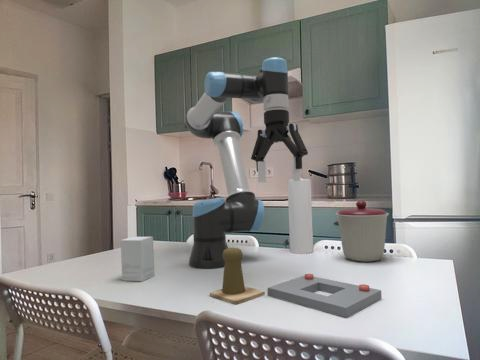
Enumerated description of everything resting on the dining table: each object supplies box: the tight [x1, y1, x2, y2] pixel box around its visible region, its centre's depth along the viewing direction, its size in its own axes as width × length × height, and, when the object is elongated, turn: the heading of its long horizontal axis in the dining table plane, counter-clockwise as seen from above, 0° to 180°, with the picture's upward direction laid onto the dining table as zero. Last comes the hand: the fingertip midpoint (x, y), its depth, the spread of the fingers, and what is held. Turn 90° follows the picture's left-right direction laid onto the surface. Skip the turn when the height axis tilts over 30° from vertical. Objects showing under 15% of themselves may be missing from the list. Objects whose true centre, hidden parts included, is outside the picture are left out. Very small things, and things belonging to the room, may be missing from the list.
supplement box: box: [120, 236, 155, 282], centre depth 110 cm, size 7×7×13 cm
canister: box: [335, 200, 390, 263], centre depth 126 cm, size 18×18×21 cm
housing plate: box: [266, 273, 382, 319], centre depth 86 cm, size 22×16×3 cm
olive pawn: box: [221, 247, 246, 295], centre depth 91 cm, size 6×6×11 cm
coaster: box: [209, 285, 266, 306], centre depth 89 cm, size 10×10×1 cm
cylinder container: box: [287, 177, 314, 255], centre depth 144 cm, size 9×9×30 cm
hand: (278, 181), depth 105 cm, fingers open, 13 cm apart
